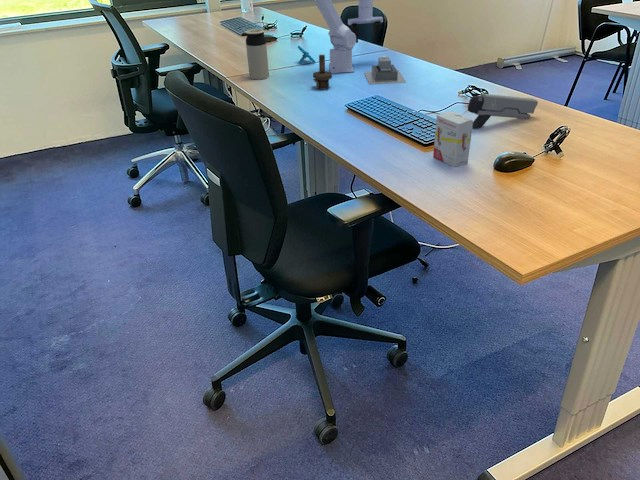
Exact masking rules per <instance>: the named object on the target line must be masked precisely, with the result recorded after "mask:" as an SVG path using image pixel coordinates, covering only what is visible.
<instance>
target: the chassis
mask: <svg viewBox="0 0 640 480" xmlns="http://www.w3.org/2000/svg"><path fill="white" fill-rule="evenodd" d="M363 74H364V76H365V79H366V80H367V83H368V84H369V85H377V84H378V85H379V84H380V85H381V84H383V85H384V84H398V83H401V84H402V83H403V84H404V83H406V79H405V78H404V76H403V75H402V73H401V72H400V70H399V69H397V68H396V67H395V65H394V64H391V71H383V72H381V71H378V64H377V65H376V64H375V65H371V71H364V72H363Z"/></svg>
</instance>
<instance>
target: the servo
mask: <svg viewBox="0 0 640 480" xmlns="http://www.w3.org/2000/svg"><path fill="white" fill-rule="evenodd" d="M377 65H378V71H381V72H383V71H391V65H392V60H391V59H390V57H389V56H386V55H382V57H378V61H377Z"/></svg>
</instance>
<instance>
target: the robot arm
mask: <svg viewBox="0 0 640 480" xmlns="http://www.w3.org/2000/svg"><path fill="white" fill-rule="evenodd" d="M313 1H314V4H315V5H316V7H317V8H318V10H319V13H320V14H321V15H322V17H323V19H324V21H325V23H326V25H327V26H328V28H329V31H328V36H329V39H330V44H331V45H332V47H333V48H329V62H328V63H329V64H328V67H329V70H330V71H329V72H331V73H332V74H338V73H340V74H341V73H343V74H344V73H354V72H355V70H354V68H353V49H354V47H355V46H356V44H358V43H359V26H358V25H360V24H361V25H362V24H372V25H371V27H372V42H376V40H377V36H378V33H379V31H380V29H381V27H382V23H383V22H384V17H383V16H373V10H374V8H373V6H374V5H373V4H374V3H373V0H358V17H355V18H348V19H347V25H345V23H343V21H342V19H341V17H340V15H339V13H338V11H337V9H336V8H335V6H334V3H333V2H332V0H313ZM348 25H349V26H350V28H349V26H348Z"/></svg>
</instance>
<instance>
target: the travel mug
mask: <svg viewBox="0 0 640 480" xmlns="http://www.w3.org/2000/svg"><path fill="white" fill-rule="evenodd" d="M264 34H265V30H264V29H262V28H253V29H252V28H251V29H248V30H245V35H246V39H245V47H246V55H247V64H248V66H247V67H248V72H249V73H248V75H249V79H252V80H256V79H260V80H264V78H265V79H267V78H269V77H270V72H269V59H268V48H267V38H266V37H265V35H264Z"/></svg>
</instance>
